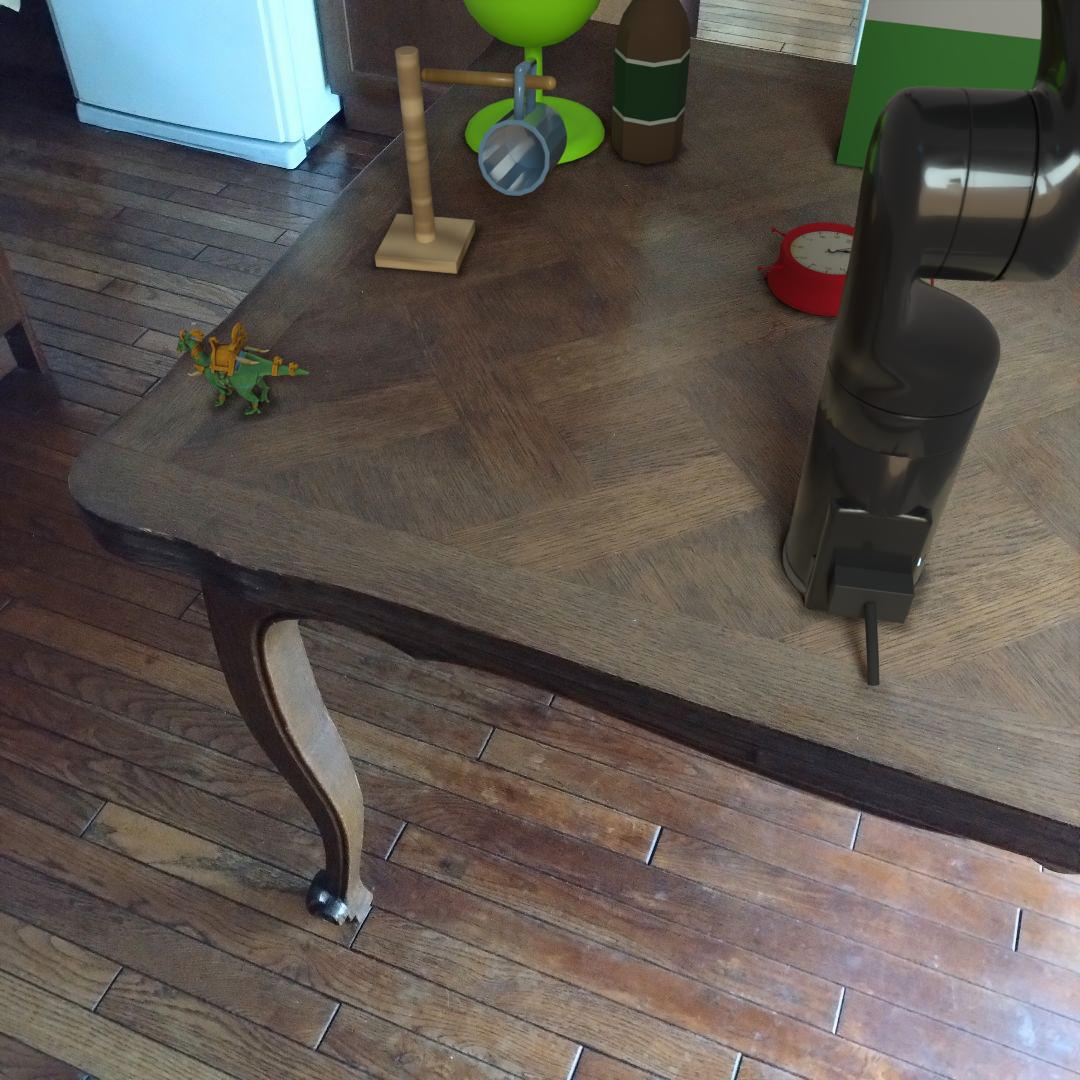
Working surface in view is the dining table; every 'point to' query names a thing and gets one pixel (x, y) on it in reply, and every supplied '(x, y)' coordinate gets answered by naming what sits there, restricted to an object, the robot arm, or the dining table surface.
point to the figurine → (234, 366)
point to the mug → (522, 141)
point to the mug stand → (422, 234)
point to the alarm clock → (812, 267)
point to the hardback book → (937, 55)
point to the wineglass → (533, 22)
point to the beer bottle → (650, 80)
